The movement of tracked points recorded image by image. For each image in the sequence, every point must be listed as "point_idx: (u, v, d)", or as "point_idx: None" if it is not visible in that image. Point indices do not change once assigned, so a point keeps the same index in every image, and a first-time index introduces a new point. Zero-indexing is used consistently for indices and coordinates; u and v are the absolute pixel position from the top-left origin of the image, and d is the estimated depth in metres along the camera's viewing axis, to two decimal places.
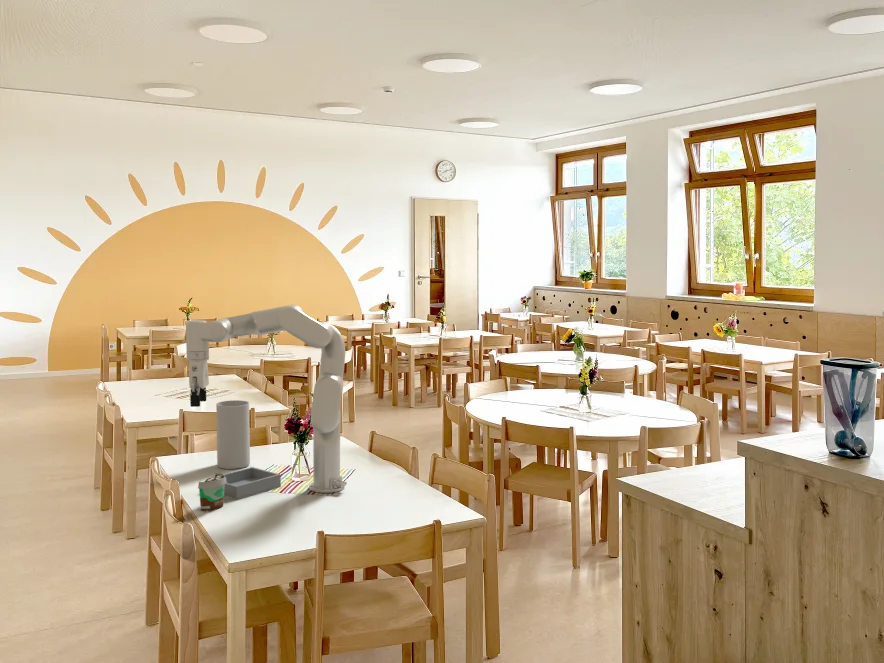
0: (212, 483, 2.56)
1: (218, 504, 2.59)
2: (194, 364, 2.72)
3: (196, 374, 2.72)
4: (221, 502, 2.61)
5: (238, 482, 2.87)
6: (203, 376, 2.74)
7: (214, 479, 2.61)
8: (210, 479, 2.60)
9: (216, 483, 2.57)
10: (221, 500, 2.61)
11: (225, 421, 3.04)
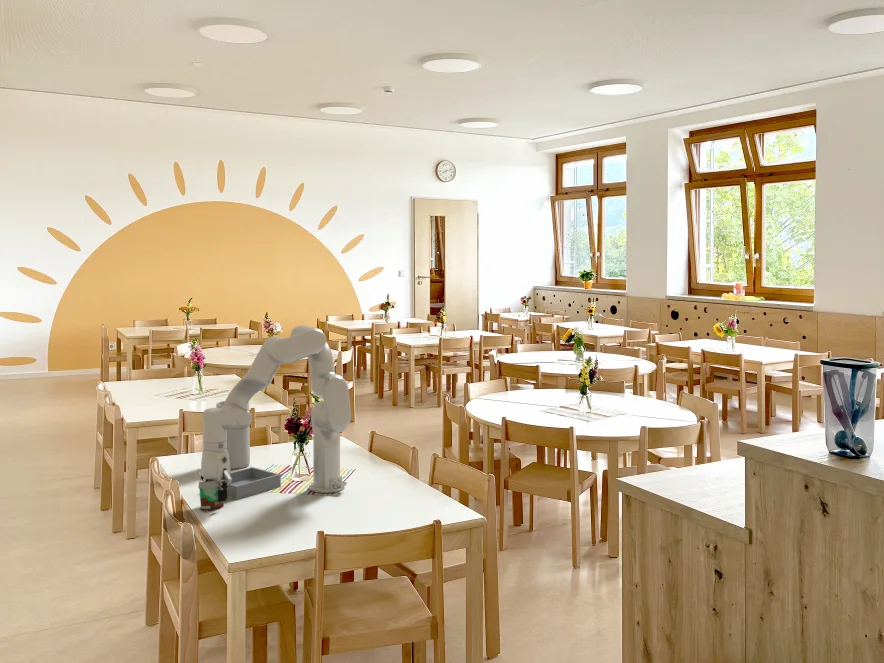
0: (212, 483, 2.56)
1: (218, 504, 2.59)
2: (223, 455, 2.57)
3: (225, 465, 2.57)
4: (221, 502, 2.60)
5: (238, 482, 2.87)
6: None
7: None
8: None
9: (216, 483, 2.57)
10: None
11: None
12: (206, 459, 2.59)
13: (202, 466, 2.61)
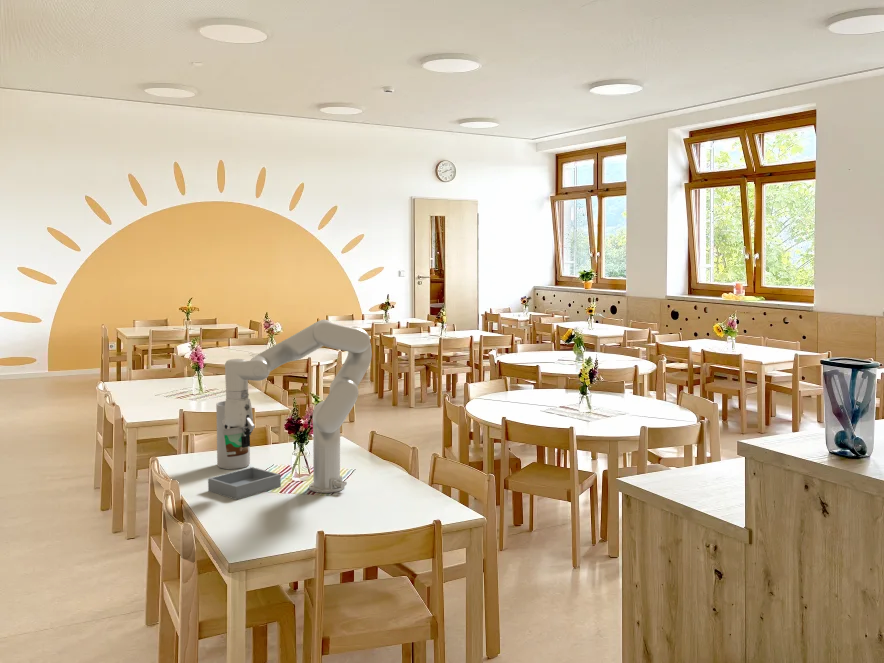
0: (236, 429, 2.70)
1: (243, 450, 2.73)
2: (246, 403, 2.71)
3: (248, 412, 2.72)
4: (246, 448, 2.75)
5: (238, 482, 2.87)
6: None
7: None
8: (233, 427, 2.75)
9: (240, 429, 2.71)
10: None
11: None
12: (229, 407, 2.73)
13: (225, 414, 2.75)
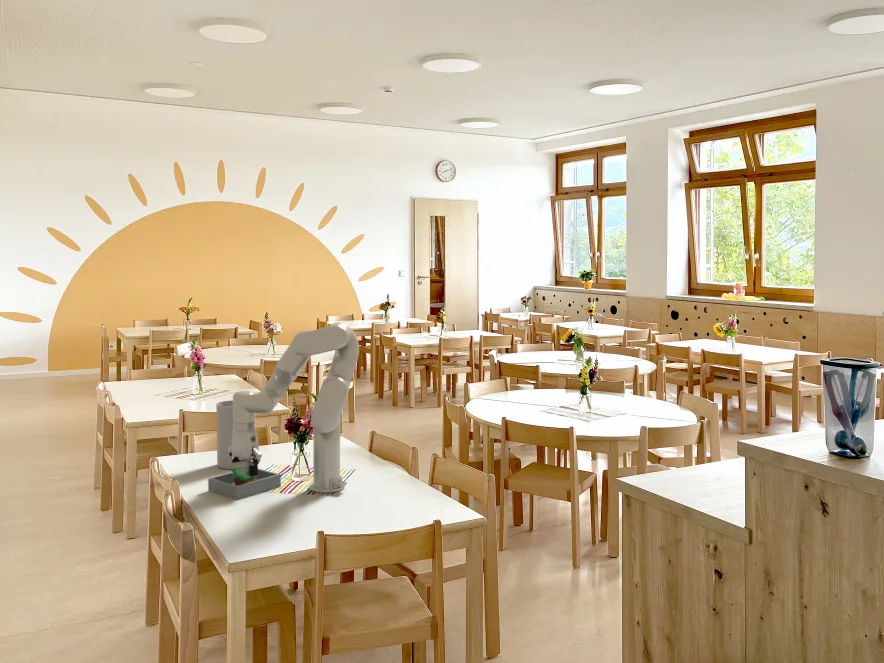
0: (243, 463, 2.76)
1: None
2: (252, 435, 2.77)
3: (254, 444, 2.78)
4: None
5: None
6: None
7: (246, 460, 2.81)
8: (242, 460, 2.81)
9: (247, 463, 2.77)
10: (254, 479, 2.80)
11: (225, 421, 3.04)
12: (236, 439, 2.79)
13: (232, 445, 2.81)
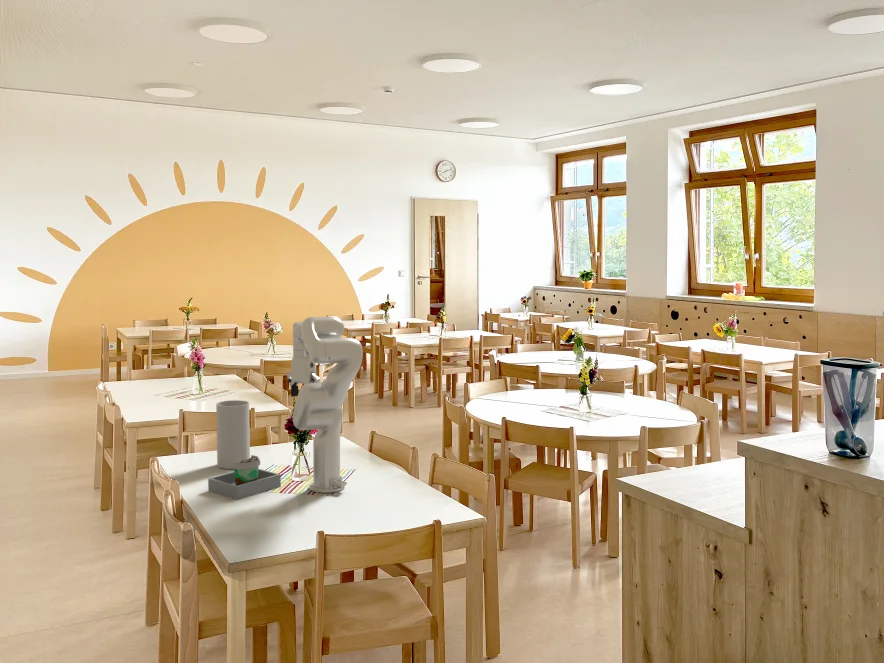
0: (246, 464, 2.76)
1: None
2: (311, 361, 3.01)
3: (313, 370, 3.02)
4: None
5: None
6: None
7: (249, 461, 2.81)
8: (244, 461, 2.80)
9: (249, 464, 2.77)
10: None
11: (225, 421, 3.04)
12: (295, 365, 3.03)
13: (292, 371, 3.05)
